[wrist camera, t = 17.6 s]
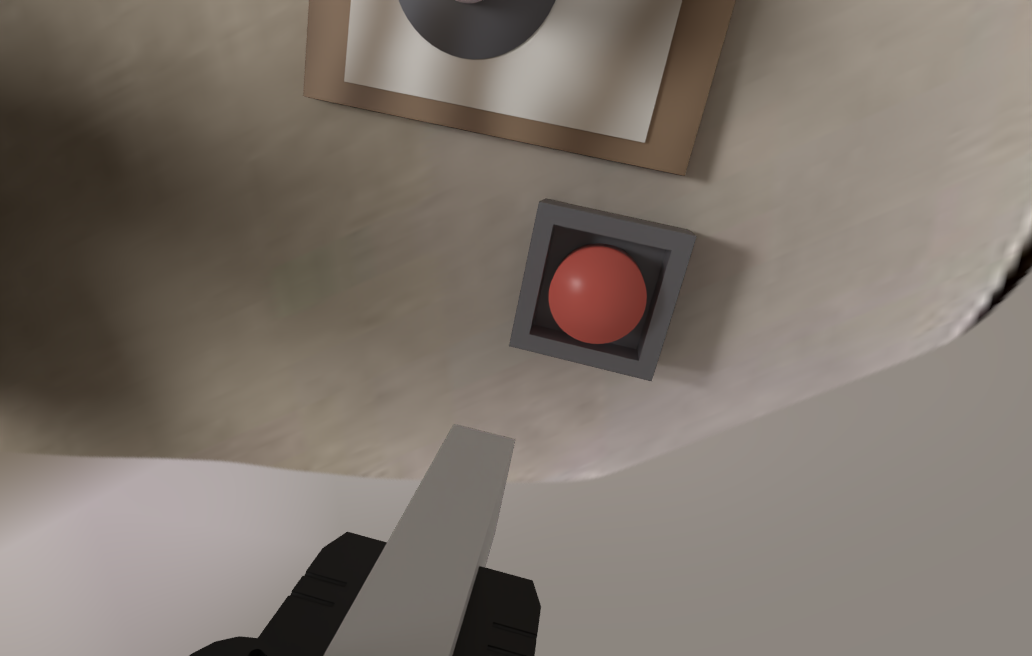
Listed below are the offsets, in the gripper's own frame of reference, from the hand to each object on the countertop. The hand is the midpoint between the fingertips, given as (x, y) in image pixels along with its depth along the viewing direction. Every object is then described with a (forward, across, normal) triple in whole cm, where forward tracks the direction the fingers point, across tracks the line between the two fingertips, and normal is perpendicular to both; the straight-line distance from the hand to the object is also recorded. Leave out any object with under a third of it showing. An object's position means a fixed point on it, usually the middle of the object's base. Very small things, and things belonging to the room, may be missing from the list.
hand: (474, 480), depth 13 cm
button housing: (+21, +3, +1) cm, 21 cm away
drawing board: (+21, -5, +16) cm, 27 cm away
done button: (+19, +3, +1) cm, 20 cm away
